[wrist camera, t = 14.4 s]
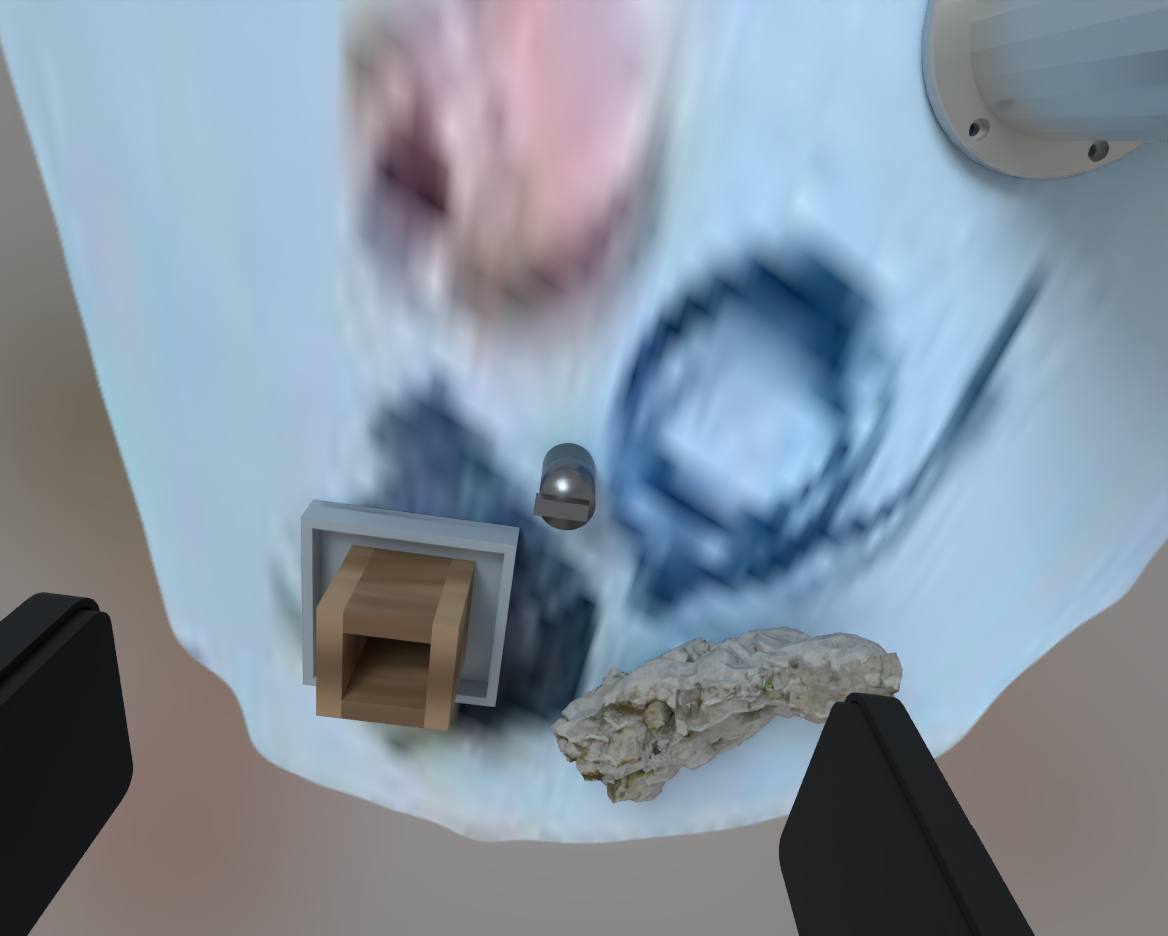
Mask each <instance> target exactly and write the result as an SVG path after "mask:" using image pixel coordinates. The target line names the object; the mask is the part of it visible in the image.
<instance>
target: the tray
mask: <svg viewBox="0 0 1168 936" xmlns="http://www.w3.org/2000/svg"><path fill="white" fill-rule="evenodd" d="M519 529H520V528H519V527H512V526H504V525H497V524H490V523H482V522H475V521H467V520H460V519H452V518H445V517H438V516H430V515H423V514H415V513H408V512H400V511H393V510H385V509H378V508H371V507H363V506H356V505H348V504H341V503H333V502H326V501H318V500H313V501H312V503H311V504H310V505H309V507H308V508H307V509H306V511H305V512H304V513H303V515H302V516H301V571H302V643H303V684H304V685H312V686H316V608H317V606H318V604H319V603H320V601H321V599H322V597H323V596H324V594H325V592H326V590H327V589H328V587H329V585H330V583H331V582H332V580H333V578H334V576H335V575H336V573H337V571H338V569H339V567H340V566H341V564H342V562H343V560H344V559H345V557H346V555H347V553H348V552H349V550H350V548H351V546H352V545H358V546H365V547H373V548H380V549H388V550H395V551H403V552H410V553H418V554H425V555H433V556H440V557H448V558H455V559H463V560H470V561H476V562H475V571H474V580H473V589H472V598H471V607H470V616H469V625H468V634H467V643H466V652H465V659H464V664H463V668H462V672H461V677H460V681H459V685H458V690H457V694H456V698H455V702H457V703H466V704H474V705H483V706H491V707H495V704H496V698H497V691H498V685H499V677H500V670H501V663H502V655H503V648H504V640H505V633H506V625H507V618H508V611H509V603H510V596H511V588H512V581H513V573H514V566H515V558H516V551H517V544H518V536H519Z"/></svg>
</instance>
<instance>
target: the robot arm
mask: <svg viewBox="0 0 1168 936" xmlns="http://www.w3.org/2000/svg"><path fill="white" fill-rule="evenodd" d="M922 66H923V72H924V78H925V84H926V90H927V94H928V97H929V100H930V102H931V105H932V108H933V110H934V113H935V116H936V118H937V120H938V122H939V123H940V125H941V126H942V128H943V129H944V131H945V132H946V134H947V135H948V137H949V138H950V140H951V141H952V142H953V143H954V144H955V145H956V146H957V147H958V148H959V149H960V150H961V151H962V152H963V153H964V154H966V155H967V156H968V157H969V158H970V159H972V160H974V161H976V162H977V163H979V164H981V165H983V166H984V167H986V168H988V169H989V170H992V171H996V172H999V173H1003V174H1006V175H1009V176H1013V177H1023V178H1031V179H1055V178H1066V177H1071V176H1075V175H1079V174H1084V173H1088V172H1092V171H1094V170H1097V169H1099V168H1101V167H1104V166H1106V165H1108V164H1111V163H1113V162H1115V161H1118V160H1120V159H1122V158H1123V157H1125V156H1126V155H1128V154H1130V153H1131V152H1133V151H1134V150H1136V149H1138V148H1139V147H1141V146H1143V145H1144V144H1146V143H1147V142H1148V141H1168V0H928V5H927V10H926V16H925V21H924V27H923V41H922ZM972 124H973V125H974V132H973V133H972V134H971V135H969V129H970V126H971V125H972ZM1089 148H1090V152H1089ZM1088 152H1089V153H1088ZM132 774H133V762H132V755H131V749H130V743H129V736H128V730H127V723H126V716H125V709H124V703H123V696H122V689H121V683H120V676H119V670H118V663H117V656H116V651H115V643H114V637H113V631H112V624H111V620H110V616H109V615H108V614H107V613H105V612H100V610H99V607H98V604H97V603H96V602H95V601H94V600H93V599H90V598H84V597H76V596H68V595H61V594H52V593H38V594H35V595H33V596H32V597H30V598H29V599H27V600H26V601H25V602H23V603H22V604H21V605H20V606H19V607H17V608H16V609H15V610H14V611H13V612H11V613H10V614H9V615H8V616H6V617H5V618H4V619H3V620H2V621H0V936H27V935H28V934H29V932H30V931H31V929H32V928H33V926H34V925H35V924H36V922H37V921H38V919H39V918H40V916H41V915H42V914H43V912H44V911H45V909H46V908H47V906H48V905H49V904H50V902H51V900H52V899H53V898H54V896H55V895H56V894H57V892H58V891H59V889H60V888H61V886H62V885H63V883H64V882H65V881H66V879H67V878H68V876H69V875H70V873H71V872H72V871H73V869H74V868H75V866H76V865H77V864H78V862H79V861H80V859H81V858H82V856H83V855H84V853H85V852H86V851H87V849H88V848H89V846H90V845H91V843H92V842H93V841H94V839H95V838H96V836H97V835H98V833H99V832H100V830H101V829H102V828H103V826H104V825H105V823H106V822H107V821H108V819H109V818H110V816H111V815H112V813H113V812H114V810H115V809H116V808H117V806H118V805H119V803H120V802H121V801H122V799H123V797H124V796H125V794H126V792H127V790H128V788H129V785H130V782H131V779H132ZM779 860H780V866H781V871H782V874H783V878H784V881H785V885H786V889H787V893H788V896H789V900H790V904H791V907H792V911H793V915H794V918H795V922H796V926H797V930H798V933H799V936H1035V935H1034V934H1033V932H1032V930H1031V928H1030V926H1029V925H1028V923H1027V921H1026V919H1025V918H1024V916H1023V914H1022V912H1021V911H1020V909H1019V907H1018V905H1017V903H1016V902H1015V900H1014V898H1013V897H1012V895H1011V893H1010V891H1009V889H1008V888H1007V886H1006V884H1005V882H1004V881H1003V879H1002V877H1001V875H1000V873H999V872H998V870H997V868H996V866H995V865H994V863H993V861H992V859H991V858H990V856H989V854H988V852H987V851H986V849H985V847H984V845H983V844H982V842H981V840H980V838H979V836H978V835H977V833H976V831H975V830H974V828H973V827H972V825H971V824H970V822H969V820H968V818H967V817H966V815H965V813H964V811H963V810H962V808H961V806H960V804H959V803H958V801H957V799H956V797H955V796H954V794H953V792H952V790H951V788H950V787H949V785H948V783H947V781H946V780H945V778H944V776H943V774H942V773H941V771H940V769H939V767H938V766H937V764H936V762H935V760H934V758H933V757H932V755H931V753H930V751H929V750H928V748H927V746H926V744H925V742H924V741H923V739H922V737H921V735H920V734H919V732H918V730H917V728H916V727H915V725H914V723H913V721H912V720H911V718H910V716H909V714H908V712H907V711H906V709H905V707H904V706H903V704H902V703H901V702H900V700H898V699H897V698H895V697H890V696H882V695H874V694H866V693H858V692H853V693H850V694H849V695H848V696H847V697H846V699H845V701H844V702H836V703H835V704H833V706H832V708H831V710H830V713H829V715H828V718H827V720H826V723H825V726H824V728H823V731H822V733H821V736H820V738H819V741H818V743H817V746H816V748H815V751H814V753H813V756H812V759H811V761H810V764H809V766H808V769H807V771H806V774H805V776H804V779H803V781H802V784H801V786H800V789H799V792H798V794H797V797H796V799H795V802H794V804H793V807H792V809H791V812H790V814H789V817H788V820H787V822H786V825H785V827H784V830H783V832H782V835H781V838H780V844H779Z"/></svg>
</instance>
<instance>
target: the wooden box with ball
mask: <svg viewBox="0 0 1168 936" xmlns="http://www.w3.org/2000/svg"><path fill="white" fill-rule="evenodd" d="M475 562H476V561H470V560H463V559H455V558H448V557H440V556H433V555H425V554H418V553H410V552H403V551H395V550H388V549H380V548H373V547H365V546H358V545H352V546H351V548H350V550H349V552H348V553H347V555H346V557H345V559H344V560H343V562H342V564H341V566H340V567H339V569H338V571H337V573H336V575H335V576H334V578H333V580H332V582H331V583H330V585H329V587H328V589H327V590H326V592H325V594H324V596H323V597H322V599H321V601H320V603H319V604H318V606H317V608H316V715H317V716H325V717H334V718H342V719H351V720H359V721H368V722H377V723H385V724H394V725H402V726H411V727H419V728H428V729H436V730H445V731H448V729H449V725H450V720H451V716H452V712H453V707H454V703H455V698H456V694H457V690H458V685H459V681H460V677H461V672H462V668H463V664H464V659H465V652H466V643H467V634H468V625H469V616H470V607H471V598H472V589H473V580H474V571H475Z"/></svg>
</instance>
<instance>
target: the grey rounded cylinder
mask: <svg viewBox="0 0 1168 936" xmlns="http://www.w3.org/2000/svg"><path fill="white" fill-rule="evenodd" d="M594 510H595V483H594V462H593V459H592V457H591V455H590V454H589V452H588V451H587V450H586V449H584V448H583V447H581V446H579V445H576V444H572V443H565V444H560V445H557V446H555V447H554V448H552V449H551V450H550V451H549V452H548V453H547V454H546V456H545V458H544V461H543V468H542V476H541V484H540V492H539V493H536V500H535V507H534V514H533V515H539V516H542V518H543V519H544V520H545V521H546V522H547V523H548V524H549V525H551V526H552V527H555V528H557V529H561V530H573V529H577V528H579V527H581V526H583V525H585V524H586V523H587V522H588V521H589V520H590V519H591V517H592V516H593V514H594Z"/></svg>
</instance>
